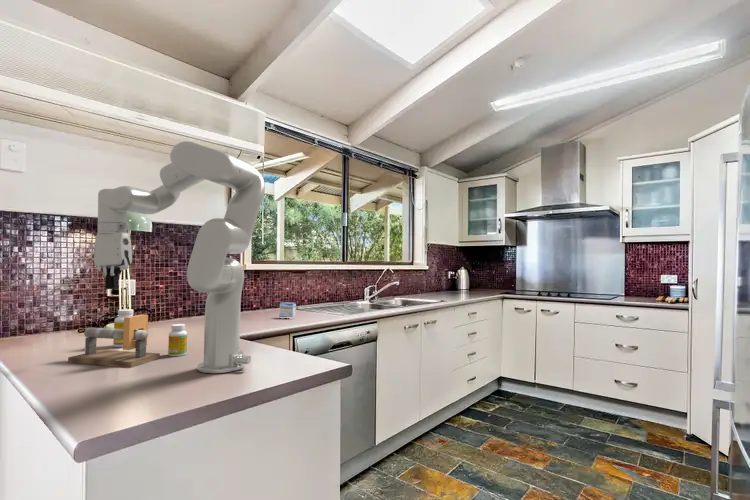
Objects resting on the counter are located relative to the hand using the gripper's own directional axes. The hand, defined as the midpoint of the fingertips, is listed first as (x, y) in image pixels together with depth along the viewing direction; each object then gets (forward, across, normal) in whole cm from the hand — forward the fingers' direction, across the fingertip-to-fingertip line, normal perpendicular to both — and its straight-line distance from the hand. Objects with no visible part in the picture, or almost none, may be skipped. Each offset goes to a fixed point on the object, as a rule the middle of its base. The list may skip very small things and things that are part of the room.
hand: (112, 288), depth 121 cm
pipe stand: (+22, -1, 0) cm, 22 cm away
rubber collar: (+18, -8, 0) cm, 20 cm away
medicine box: (+22, -13, -99) cm, 102 cm away
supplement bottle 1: (+22, +13, -18) cm, 31 cm away
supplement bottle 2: (+22, -14, -11) cm, 29 cm away
